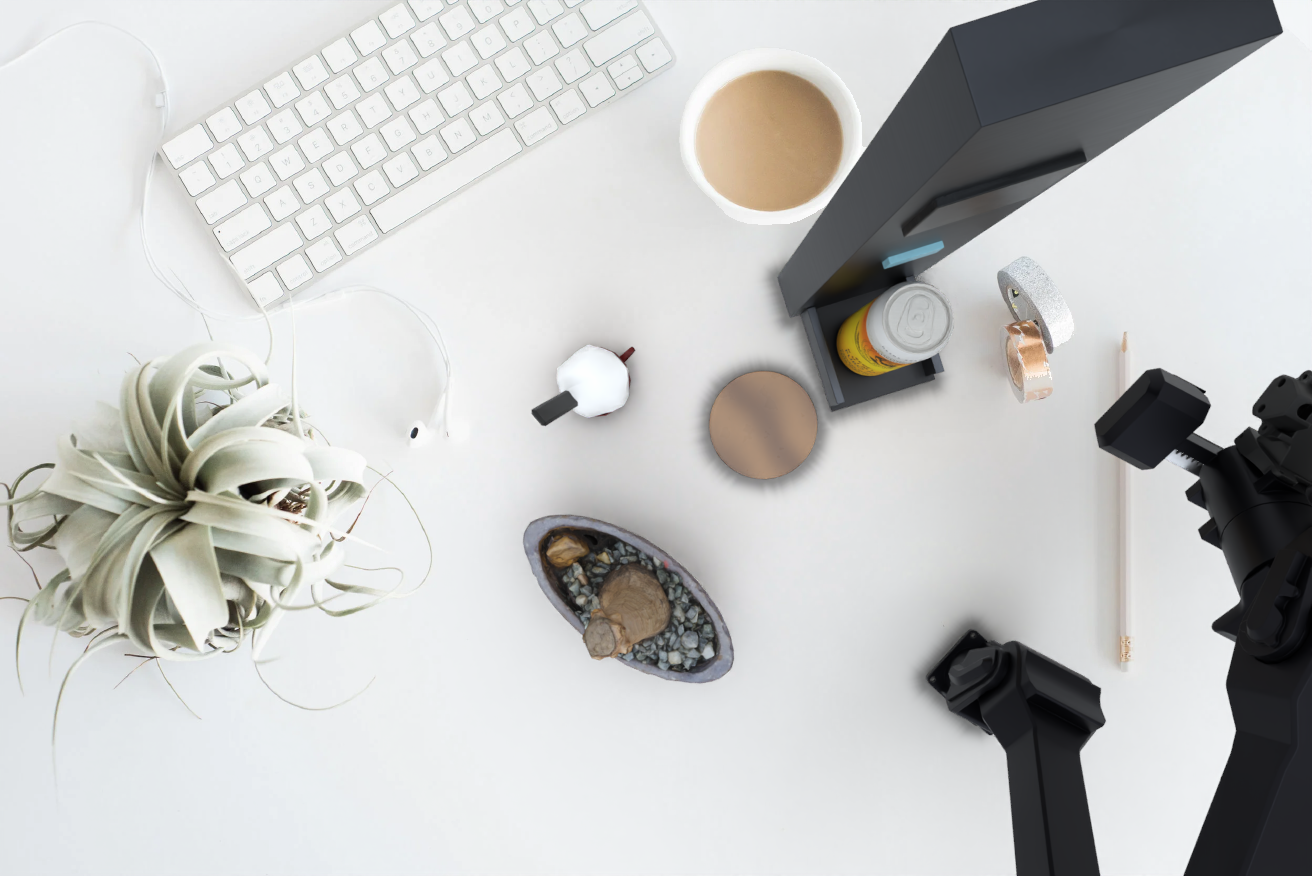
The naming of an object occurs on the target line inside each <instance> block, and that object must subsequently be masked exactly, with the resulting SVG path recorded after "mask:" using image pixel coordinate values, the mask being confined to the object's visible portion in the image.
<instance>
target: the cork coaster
mask: <svg viewBox="0 0 1312 876" xmlns="http://www.w3.org/2000/svg"><path fill="white" fill-rule="evenodd" d="M708 421H709V422H708V426H709V427H708V430H709V435H710V441H711V443H712V446H713V449H714V450H715V452H716V454H717V455H718V457H719V459H720V460H721V461H722V462H723V463H724V464H725V465H726V466H727V467H728V468H730V469H731V470H733V471H734V472H735V473H738V474H740V475H742V476H745V477H748V478H751V479H757V480H769V479H775V478H779V477H783V476H785V475H787V474H789V473H791V472H793V471H794V470H796V469H797V468H798V467H799V466H800V465H801V464H802V463H803V462H805V460H806V459H807V458H808V456H809V455H810V453H811V451H812V450H813V447H814V445H815V442H816V440H817V434H818V415H817V411H816V407H815V405H814V402H813V401H812V398H811V397H810V395H809V394H808V393H807V391H806V389H804V388H803V387H802V386H801V385H800V384H799V383H798V382H797V381H795V380H794V379H792V378H791V377H789V376H787V375H784V374H782V373H779V372H775V371H770V370H757V371H752V372H747V373H744V374H742V375H740V376H738V377H736V378H734V379H733V380H731V381H730V382H729V383H728V384H727V385H725V387H723V389H722V390H721V391H720V392H719V393H718V395H717V396H716V398H715V400H714V402H713V404H712V407H711V410H710V414H709V420H708Z"/></svg>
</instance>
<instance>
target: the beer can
mask: <svg viewBox="0 0 1312 876" xmlns="http://www.w3.org/2000/svg"><path fill="white" fill-rule="evenodd" d="M954 320H955V317H954V310H953V307H952V303H951V302H950V300H949V299H948V297H947V296H946V295H945V294H944V293H943V292H942V291H941V290H940V289H939V288H937V287H936V286H935V285H932V284H930V283H928V282H925V281H920V280H916V281H906V282H902V283H899V284H897V285H895V286H893V287H891V288H890V289H888V290H887V291H885V292H884V293H883V294H881V295H880V296H878V297H877V298H875V299H874V300H872V301H871V302H869V303H868V304H867V305H865V306H864V307H862V308H861V309H859V310H858V311H856V312H855V313H854V314H852V315H851V316H849V317H848V318H847V319H846V320H845V321H844V322H843V324H842V325H841V327H840V329H839V332H838V335H837V350H838V354H839V356H840V358H841V360H842V361H843V363H844V364H845V365H846V366H847V367H848V368H849V369H850V370H852V371H853V372H855V373H858V374H860V375H865V376H875V375H880V374H883V373H886V372H889V371H892V370H895V369H898V368H901V367H904V366H907V365H910V364H913V363H916V362H919V361H922V360H925V359H928V358H930V357H932V356H934V355H936V354H937V353H938V352H939V353H940V352H941V351H942V350H943V349H944V348H945V347H946V345H947V344H948V343H949V341H950V339H951V337H952V334H953V331H954V325H955V321H954Z"/></svg>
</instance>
